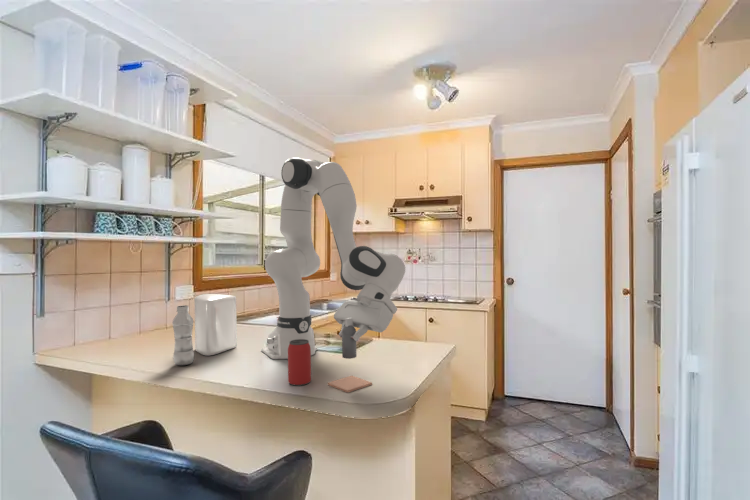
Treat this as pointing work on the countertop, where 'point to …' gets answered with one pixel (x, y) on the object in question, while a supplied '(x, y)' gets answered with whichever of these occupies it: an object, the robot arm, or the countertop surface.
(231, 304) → the white rounded block
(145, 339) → the countertop surface
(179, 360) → the plastic bottle
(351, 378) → the tile
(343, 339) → the grey pump bottle
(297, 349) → the beer can
